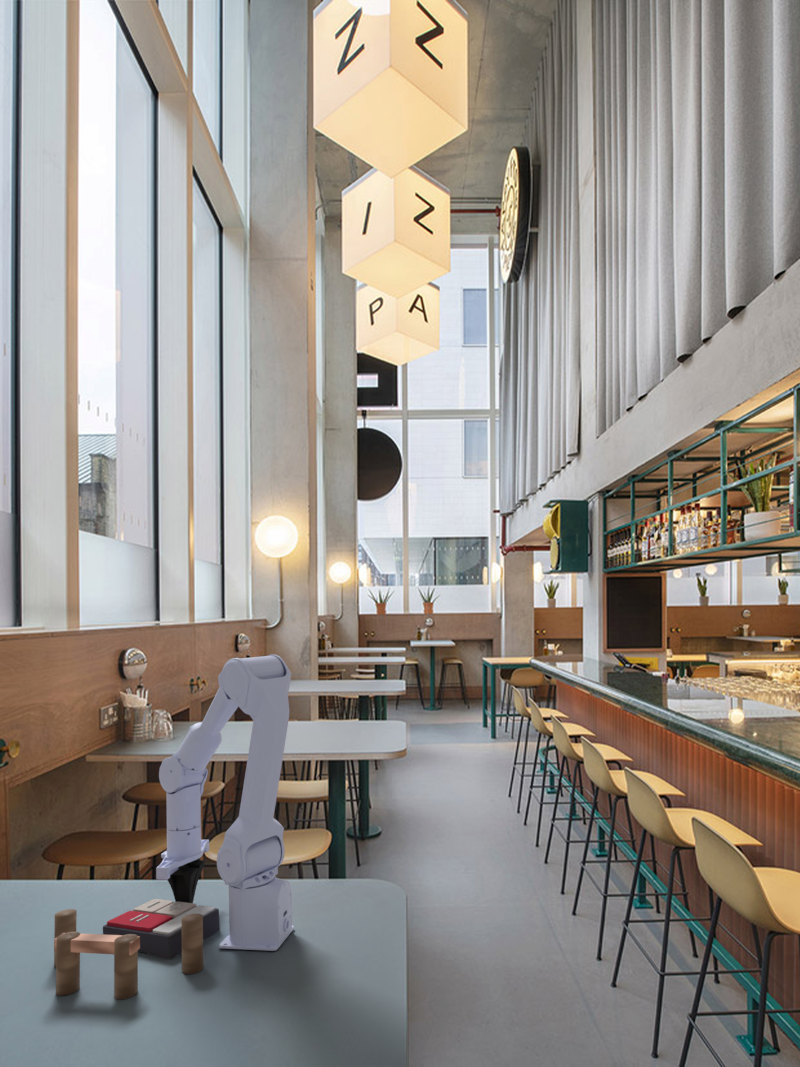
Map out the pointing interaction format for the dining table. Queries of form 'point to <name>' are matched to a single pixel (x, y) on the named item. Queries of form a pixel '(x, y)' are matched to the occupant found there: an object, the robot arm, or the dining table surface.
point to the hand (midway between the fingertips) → (184, 908)
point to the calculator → (162, 925)
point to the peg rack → (115, 953)
